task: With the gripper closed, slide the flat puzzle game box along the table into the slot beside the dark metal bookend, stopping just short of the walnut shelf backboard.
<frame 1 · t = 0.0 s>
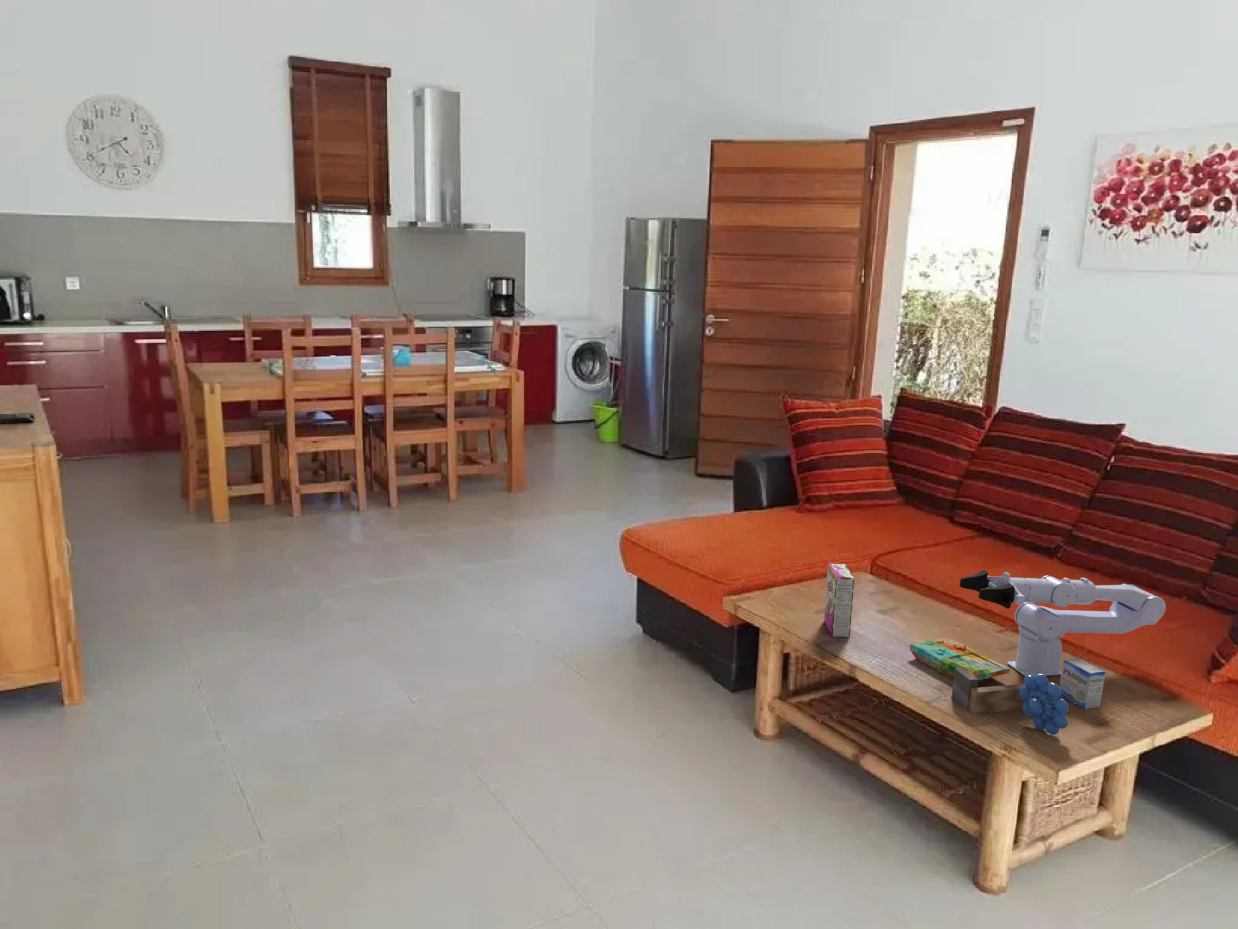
hand: (970, 588, 222), 22 cm above the table, tool horizontal, fingers open, 7 cm apart
puzzle game: (956, 671, 230), on the table
medicine box: (1078, 701, 216), on the table
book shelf: (999, 702, 214), on the table
grapes: (1036, 731, 202), on the table
candy bar box: (836, 630, 253), on the table
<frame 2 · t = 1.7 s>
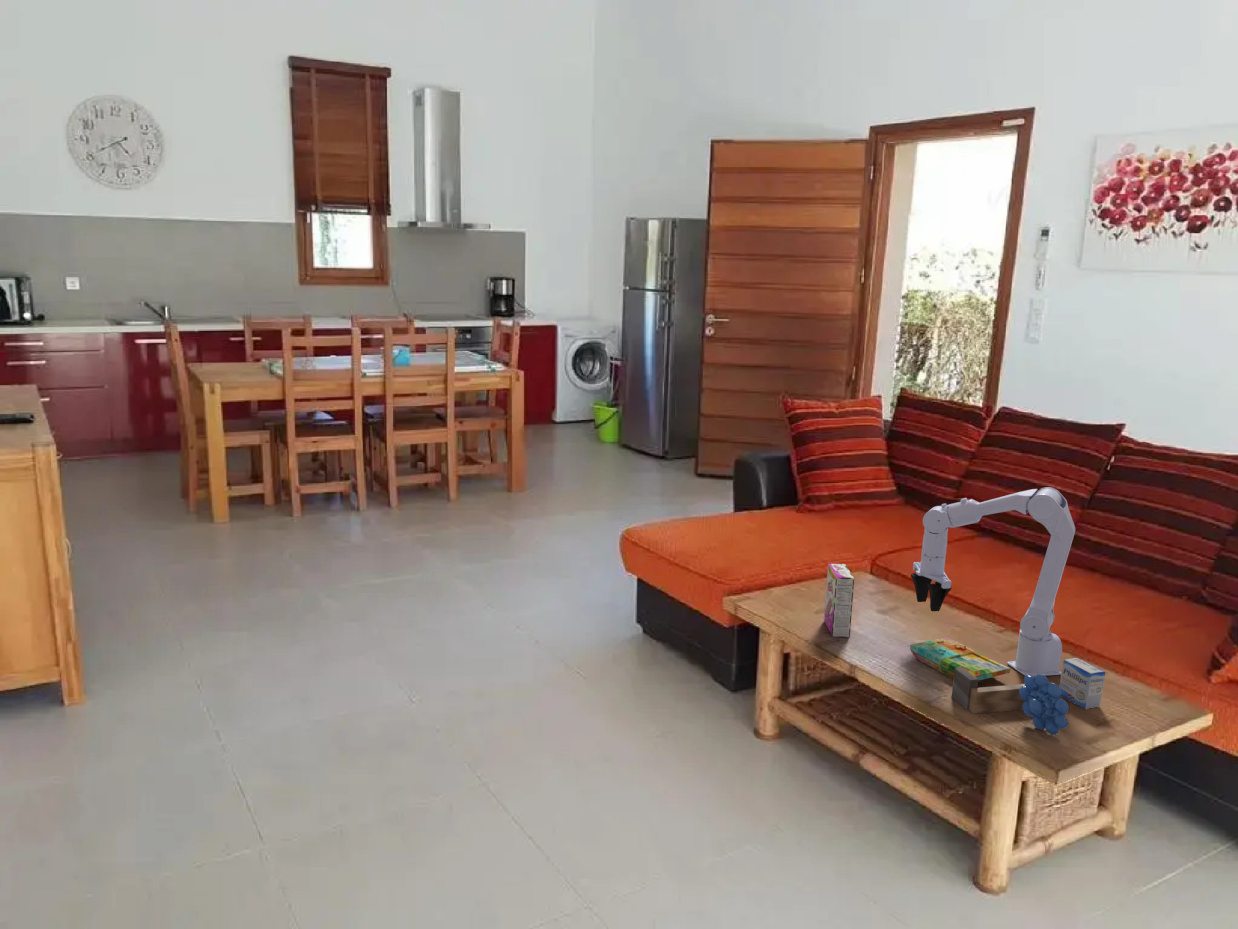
hand: (928, 606, 242), 10 cm above the table, tool pointing down, fingers open, 6 cm apart
nothing on the table moved.
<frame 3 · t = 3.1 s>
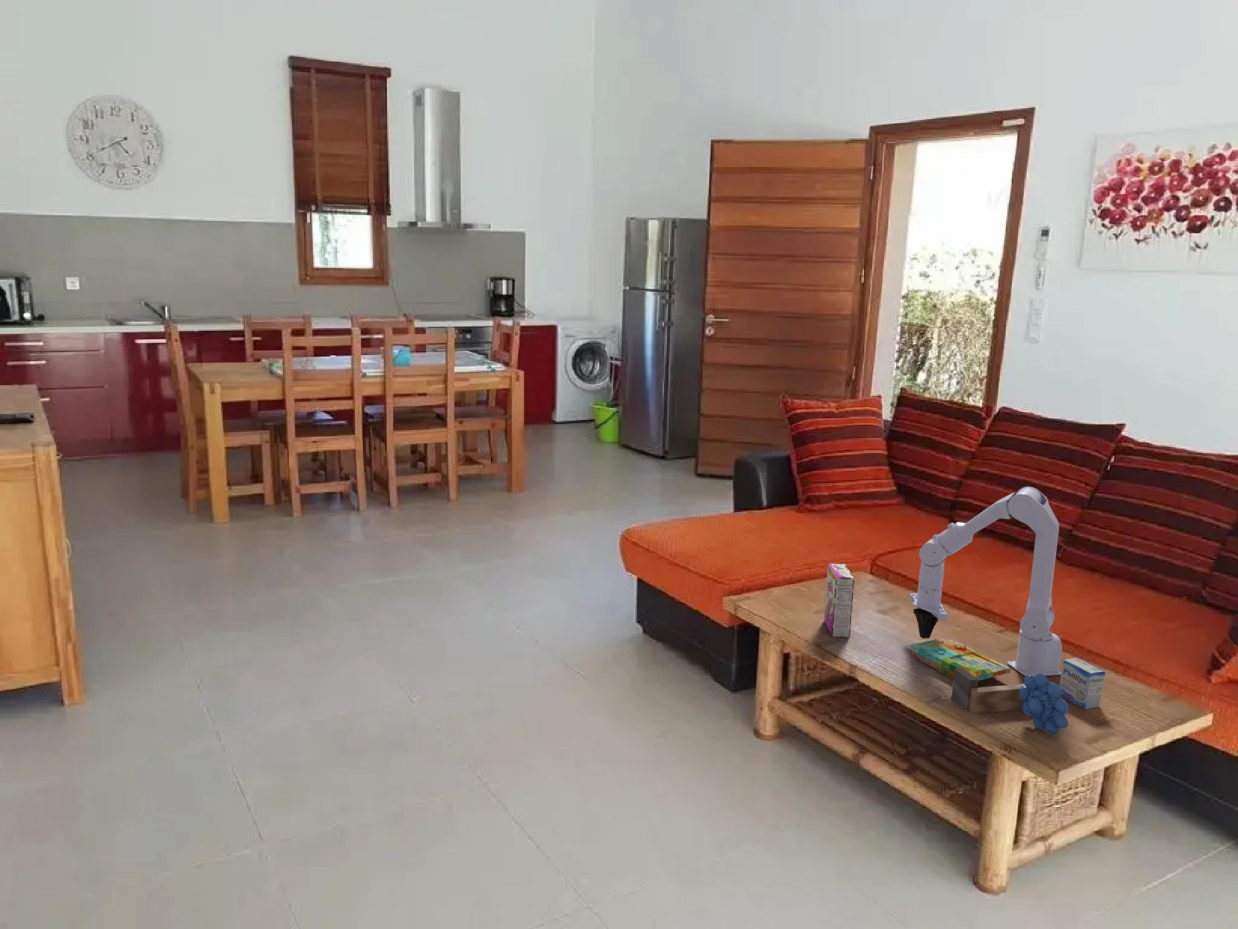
hand: (924, 637, 244), 2 cm above the table, tool pointing down, fingers closed
nothing on the table moved.
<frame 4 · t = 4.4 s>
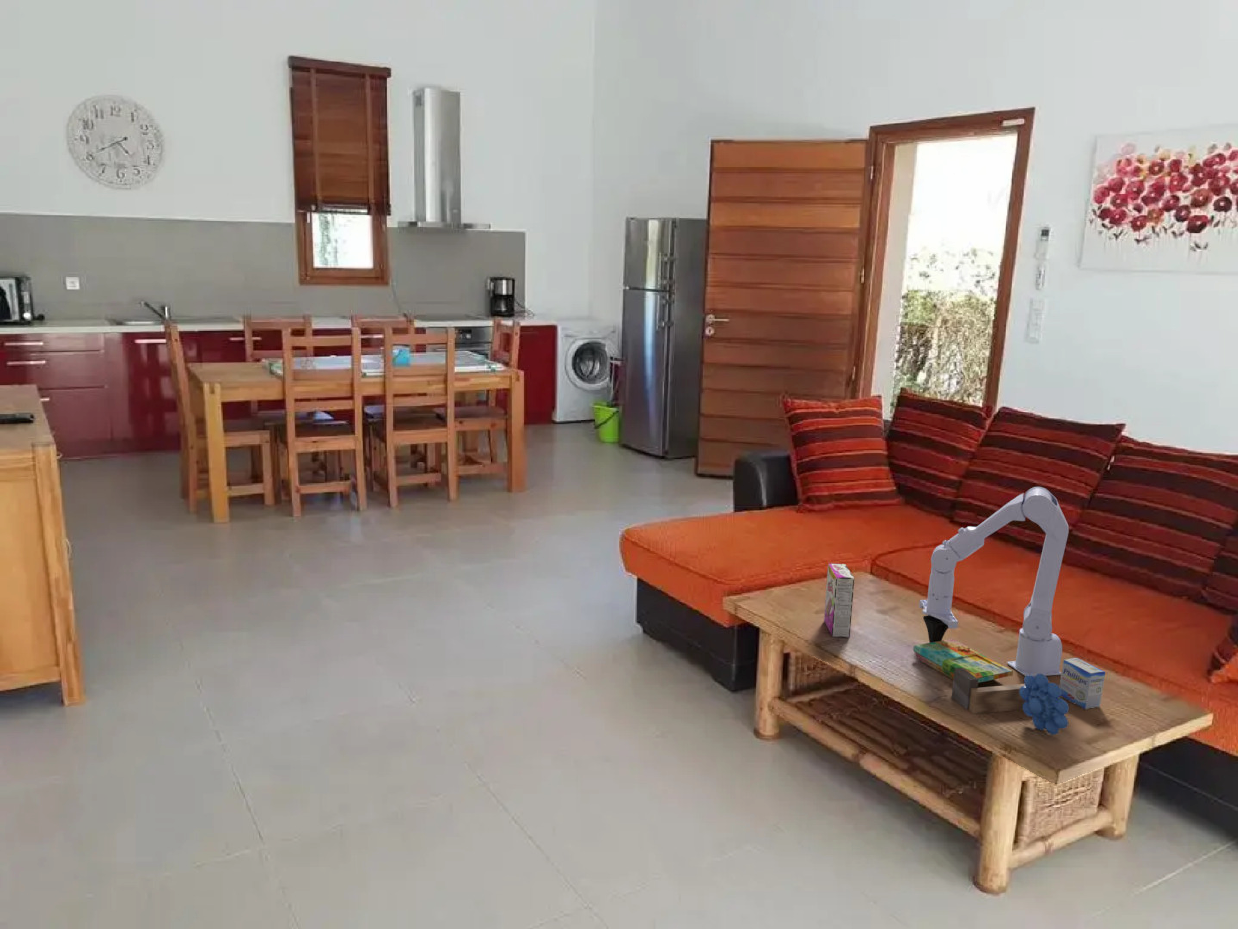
hand: (934, 645, 239), 2 cm above the table, tool pointing down, fingers closed
puzzle game: (960, 673, 229), on the table, touching gripper
everything else where it was.
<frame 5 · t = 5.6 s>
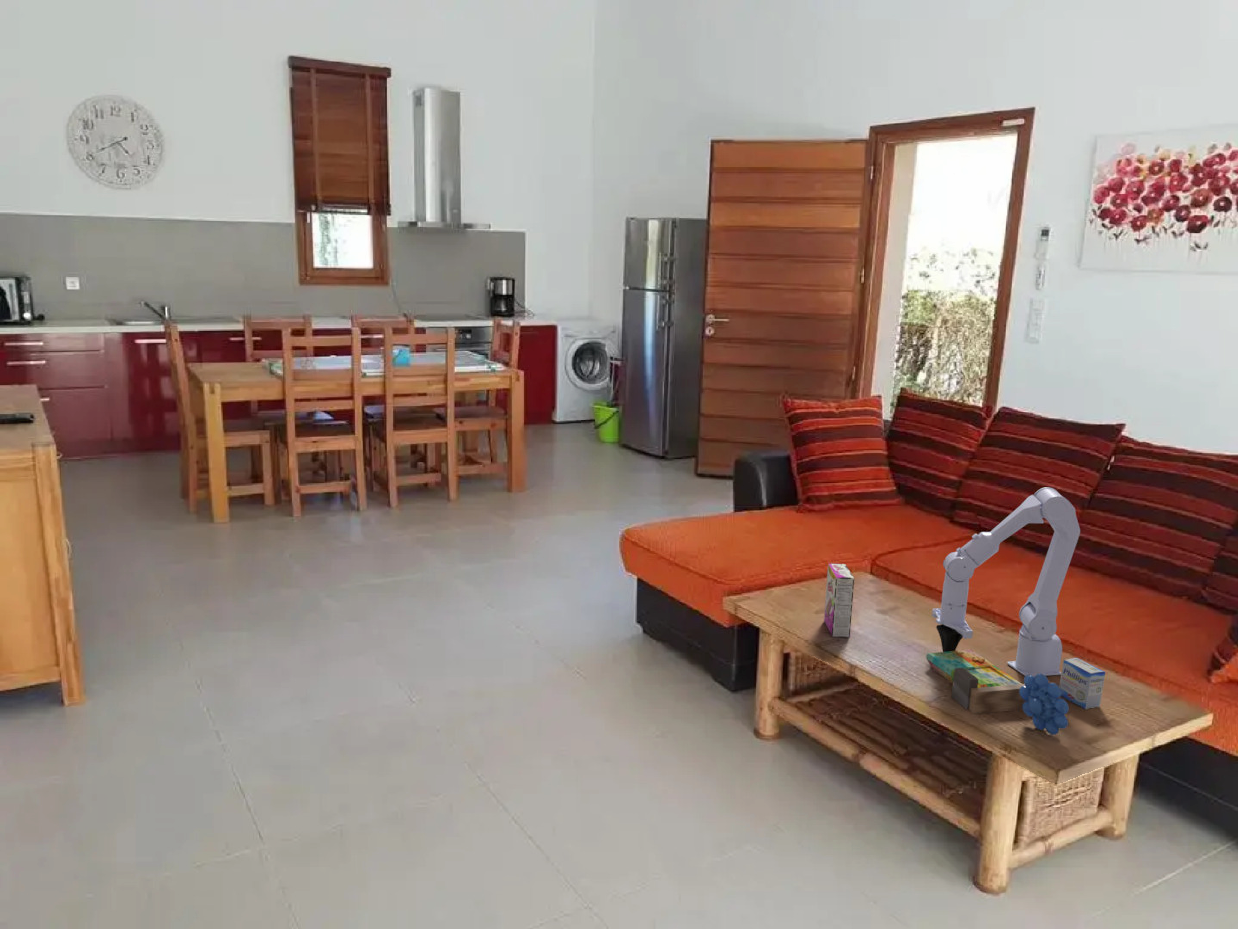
hand: (948, 655, 234), 2 cm above the table, tool pointing down, fingers closed
puzzle game: (971, 684, 223), on the table, touching gripper
everything else where it was.
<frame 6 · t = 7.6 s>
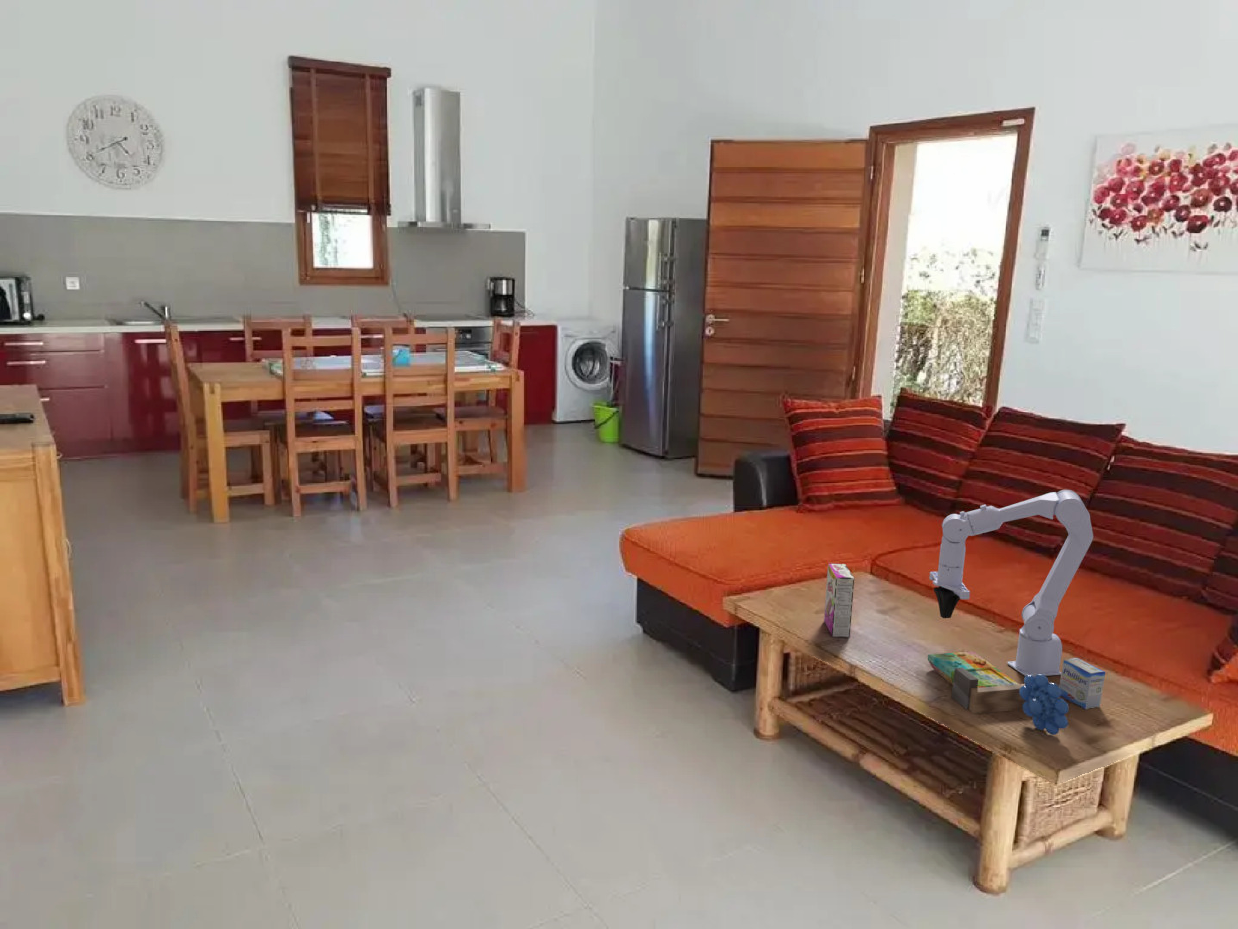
hand: (945, 617, 235), 10 cm above the table, tool pointing down, fingers closed
puzzle game: (972, 686, 223), on the table
everything else where it was.
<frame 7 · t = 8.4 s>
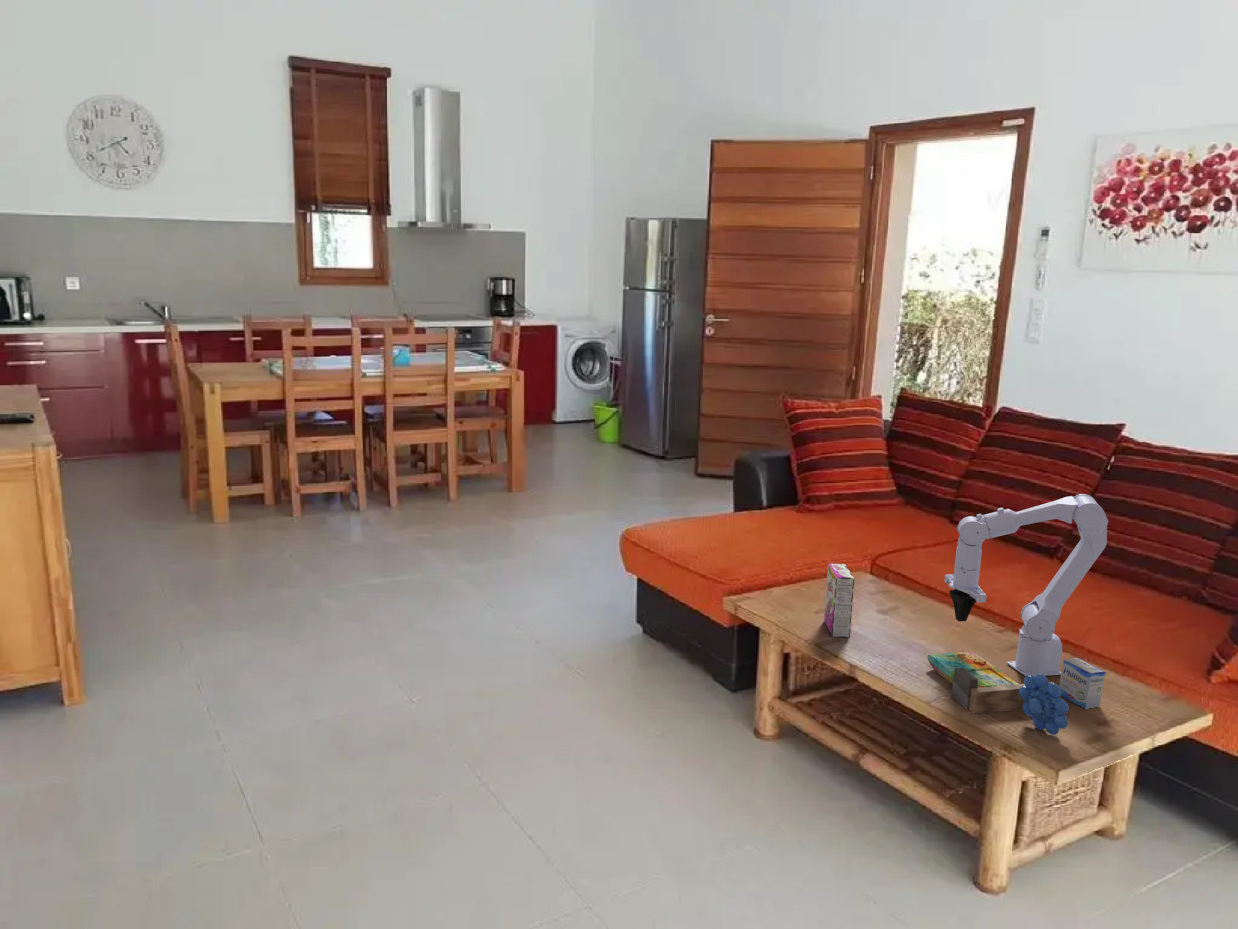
hand: (961, 620, 233), 10 cm above the table, tool pointing down, fingers closed
nothing on the table moved.
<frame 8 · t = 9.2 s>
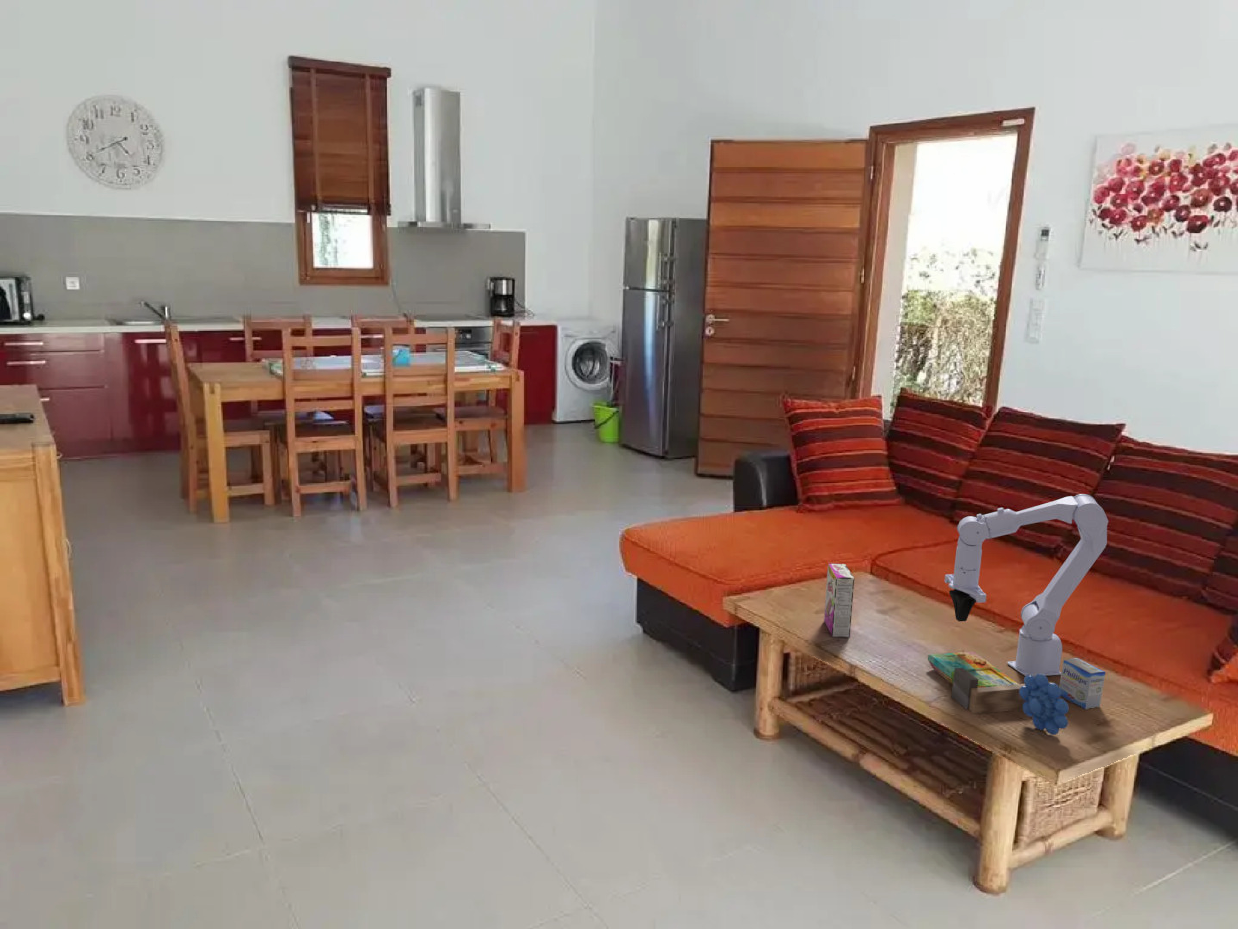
hand: (961, 620, 233), 10 cm above the table, tool pointing down, fingers closed
nothing on the table moved.
at the end: puzzle game 0.9 cm from the target spot, on the table; puzzle game tilted 0° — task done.
